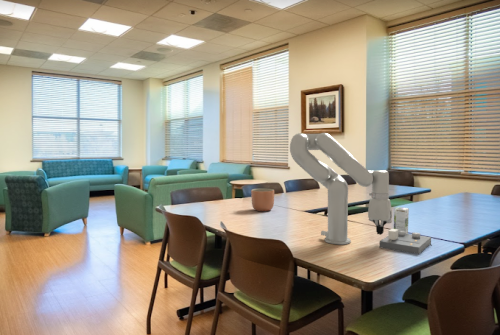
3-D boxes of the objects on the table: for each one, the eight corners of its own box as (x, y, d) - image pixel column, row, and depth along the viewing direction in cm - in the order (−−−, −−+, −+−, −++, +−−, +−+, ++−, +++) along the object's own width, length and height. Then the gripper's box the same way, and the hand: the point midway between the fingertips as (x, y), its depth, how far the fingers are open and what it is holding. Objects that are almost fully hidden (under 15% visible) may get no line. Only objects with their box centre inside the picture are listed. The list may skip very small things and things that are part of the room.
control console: (379, 247, 166) (379, 236, 166) (394, 237, 183) (394, 228, 183) (418, 254, 156) (418, 242, 155) (431, 243, 172) (431, 233, 172)
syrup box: (396, 233, 192) (397, 206, 191) (408, 235, 188) (408, 207, 188) (393, 235, 188) (393, 208, 187) (405, 237, 184) (405, 209, 183)
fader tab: (388, 239, 168) (388, 230, 168) (391, 237, 172) (391, 228, 172) (394, 240, 166) (395, 231, 166) (398, 237, 170) (398, 229, 170)
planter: (259, 207, 277) (259, 188, 276) (278, 209, 267) (278, 189, 267) (246, 210, 264) (246, 190, 263) (266, 213, 254) (266, 191, 253)
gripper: (362, 195, 174) (361, 233, 175) (393, 198, 164) (393, 237, 165) (367, 194, 179) (367, 230, 181) (398, 196, 170) (398, 234, 171)
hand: (379, 233), depth 173 cm, fingers closed
